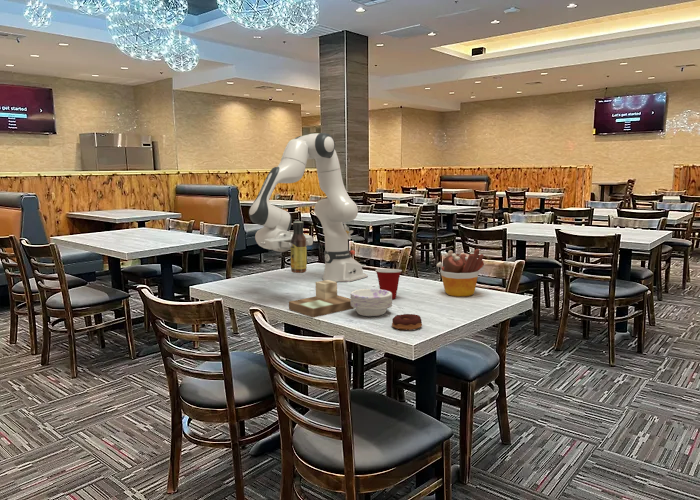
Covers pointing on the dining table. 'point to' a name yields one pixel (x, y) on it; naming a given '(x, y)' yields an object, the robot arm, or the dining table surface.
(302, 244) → the sauce bottle
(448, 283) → the bucket of meat
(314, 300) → the walnut board
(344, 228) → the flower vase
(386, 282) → the plastic cup
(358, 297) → the paper bowls
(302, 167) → the robot arm
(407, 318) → the donut
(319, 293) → the birch cube
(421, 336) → the dining table surface
